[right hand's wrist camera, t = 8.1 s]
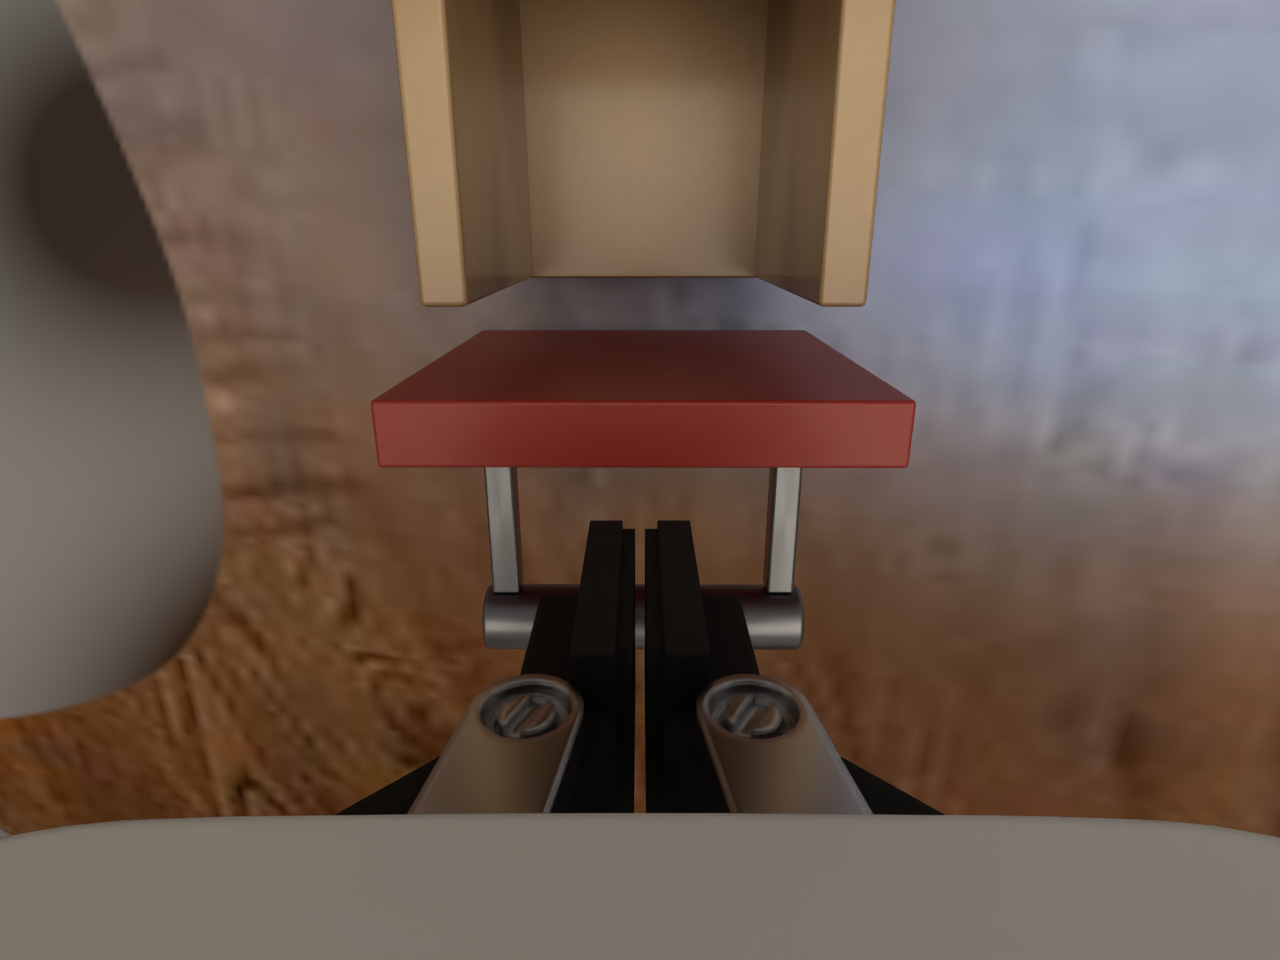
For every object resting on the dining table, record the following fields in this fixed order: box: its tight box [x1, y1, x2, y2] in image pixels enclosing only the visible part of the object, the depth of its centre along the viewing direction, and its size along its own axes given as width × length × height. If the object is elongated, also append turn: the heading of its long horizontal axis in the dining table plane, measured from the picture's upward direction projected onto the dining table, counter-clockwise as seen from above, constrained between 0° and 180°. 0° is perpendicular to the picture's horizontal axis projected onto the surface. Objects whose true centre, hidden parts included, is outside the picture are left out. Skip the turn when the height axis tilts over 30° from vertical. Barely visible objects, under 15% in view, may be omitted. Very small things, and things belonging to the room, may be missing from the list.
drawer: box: [371, 0, 916, 650], centre depth 15 cm, size 24×9×9 cm, turn 0°
